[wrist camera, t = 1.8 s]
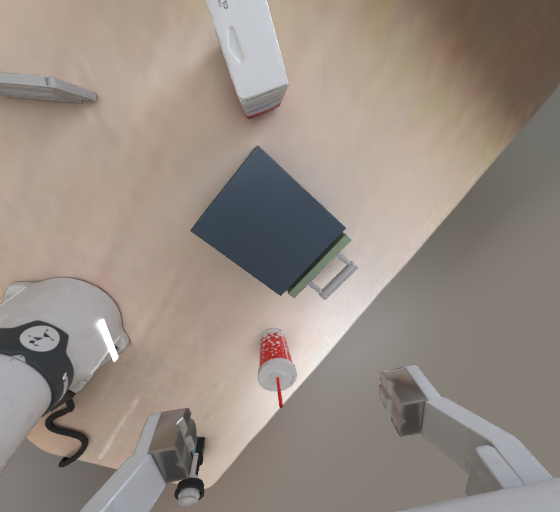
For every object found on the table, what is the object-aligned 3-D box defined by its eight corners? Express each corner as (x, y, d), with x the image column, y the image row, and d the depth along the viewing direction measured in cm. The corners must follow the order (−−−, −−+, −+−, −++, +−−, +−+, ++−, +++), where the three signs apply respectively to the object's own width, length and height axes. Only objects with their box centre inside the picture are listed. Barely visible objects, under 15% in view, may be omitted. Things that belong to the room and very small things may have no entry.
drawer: (357, 246, 42) (374, 261, 36) (309, 294, 45) (318, 315, 39) (271, 166, 36) (276, 169, 30) (221, 227, 39) (216, 241, 33)
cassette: (-10, 97, 31) (-88, 81, 24) (-16, 78, 30) (-97, 56, 23) (99, 106, 32) (56, 93, 25) (96, 88, 32) (52, 70, 24)
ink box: (280, 107, 34) (294, 87, 23) (244, 121, 35) (241, 107, 24) (257, 28, 31) (260, -39, 20) (217, 43, 31) (199, -15, 20)
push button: (209, 456, 59) (201, 512, 50) (184, 455, 58) (172, 513, 49) (211, 436, 56) (204, 491, 47) (186, 435, 56) (173, 492, 46)
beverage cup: (249, 340, 48) (249, 410, 35) (271, 318, 47) (279, 383, 34) (274, 356, 50) (282, 427, 37) (295, 335, 49) (312, 402, 36)
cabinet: (328, 214, 41) (346, 228, 33) (275, 271, 43) (280, 296, 36) (256, 146, 36) (257, 145, 28) (201, 215, 39) (190, 230, 31)
